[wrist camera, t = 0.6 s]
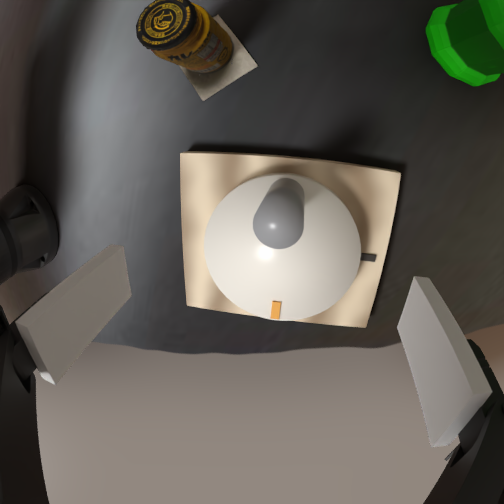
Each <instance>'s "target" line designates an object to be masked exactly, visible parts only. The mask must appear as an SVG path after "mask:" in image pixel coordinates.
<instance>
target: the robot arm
mask: <svg viewBox="0 0 504 504" xmlns="http://www.w3.org/2000/svg"><path fill="white" fill-rule="evenodd" d="M57 249H58V230H57V225H56V221H55V218H54V215H53V212H52V210H51V207H50V205H49V204H48V202H47V200H46V199H45V197H44V196H43V195H42V193H41V192H40V191H39V190H38V189H36V188H35V187H33V186H31V185H27V184H25V185H21V186H18V187H16V188H13V189H12V190H10V191H9V192H8V193H7V194H6V195H5V196H4V197H3V198H1V199H0V285H1V284H2V283H4V282H5V281H6V280H8V279H9V278H10V277H12V276H13V275H15V274H17V273H21V272H26V271H30V270H35V269H39V268H42V267H44V266H45V265H46V264H48V263H49V262H51V261H52V260H53V259H54V257H55V255H56V252H57ZM131 296H132V295H131V289H130V284H129V278H128V272H127V266H126V260H125V253H124V246H120V245H109V246H108V247H107V248H105V249H104V250H103V251H101V252H100V253H98V254H97V255H96V256H94V257H93V258H92V259H91V260H89V261H88V262H87V263H85V264H84V265H83V266H81V267H80V268H79V269H78V270H76V271H75V272H74V273H72V274H71V275H70V276H69V277H67V278H66V279H65V280H64V281H62V282H61V283H60V284H59V285H57V286H56V287H55V288H54V289H53V290H51V291H50V292H48V293H46V294H44V295H43V296H42V297H41V298H40V299H38V301H37V302H35V303H34V304H33V305H31V307H29V308H28V309H27V310H26V311H24V312H23V313H22V314H21V315H20V316H19V317H18V318H17V319H15V320H14V321H13V322H12V323H11V324H10V325H9V323H8V320H7V318H6V316H5V313H4V311H3V308H2V307H1V305H0V504H49V501H48V496H47V491H46V487H45V481H44V476H43V470H42V463H41V457H40V448H39V440H38V429H37V414H36V379H35V375H34V373H33V371H34V370H35V369H36V368H37V369H38V371H39V372H40V374H41V376H42V378H43V379H45V380H47V381H49V382H50V383H53V384H54V385H56V384H57V383H58V382H59V380H60V379H61V378H62V377H63V375H64V374H65V373H66V372H67V370H68V369H69V368H70V367H71V365H72V364H73V363H74V362H75V361H76V359H77V358H78V357H79V356H80V354H81V353H82V352H83V351H84V350H85V349H86V347H87V346H88V345H89V344H90V343H91V341H92V340H93V339H94V338H95V337H96V336H97V334H98V333H99V332H100V331H101V330H102V329H103V327H104V326H105V325H106V324H107V323H108V322H109V320H110V319H111V318H112V317H113V316H114V315H115V314H116V313H117V311H118V310H119V309H120V308H121V307H122V306H123V305H124V304H125V302H126V301H127V300H128V299H129V298H130V297H131ZM397 329H398V332H399V335H400V338H401V341H402V344H403V347H404V350H405V353H406V356H407V359H408V362H409V365H410V369H411V372H412V375H413V379H414V382H415V386H416V389H417V392H418V396H419V400H420V404H421V408H422V412H423V416H424V419H425V424H426V428H427V432H428V437H429V442H430V446H431V447H438V446H445V445H449V444H450V443H451V442H452V441H453V440H454V439H455V438H456V437H457V435H459V439H460V444H459V445H458V446H457V447H456V448H455V449H454V450H453V451H452V452H451V453H450V454H449V455H448V456H447V457H446V458H445V460H446V461H447V460H448V459H449V458H450V457H451V458H450V460H449V462H448V464H447V466H446V467H445V469H444V471H443V473H442V474H441V476H440V478H439V479H438V482H437V483H436V485H435V486H434V488H433V489H432V491H431V492H430V494H429V496H428V497H427V499H426V500H425V502H424V503H423V504H504V394H503V392H502V390H501V388H500V386H499V383H498V381H497V380H496V377H495V375H494V373H493V372H492V369H491V368H489V364H488V362H487V360H485V356H484V354H483V352H482V351H481V349H480V348H479V346H477V345H476V344H475V343H474V342H473V341H472V340H471V339H466V338H465V336H464V334H463V333H462V331H461V329H460V327H459V326H458V324H457V322H456V321H455V319H454V317H453V315H452V314H451V312H450V310H449V309H448V307H447V306H446V304H445V302H444V301H443V299H442V298H441V296H440V294H439V293H438V291H437V290H436V288H435V287H434V285H433V284H432V282H431V281H430V279H429V278H426V277H415V276H414V278H413V281H412V284H411V288H410V291H409V294H408V297H407V300H406V303H405V306H404V309H403V312H402V315H401V318H400V321H399V324H398V326H397Z"/></svg>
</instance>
